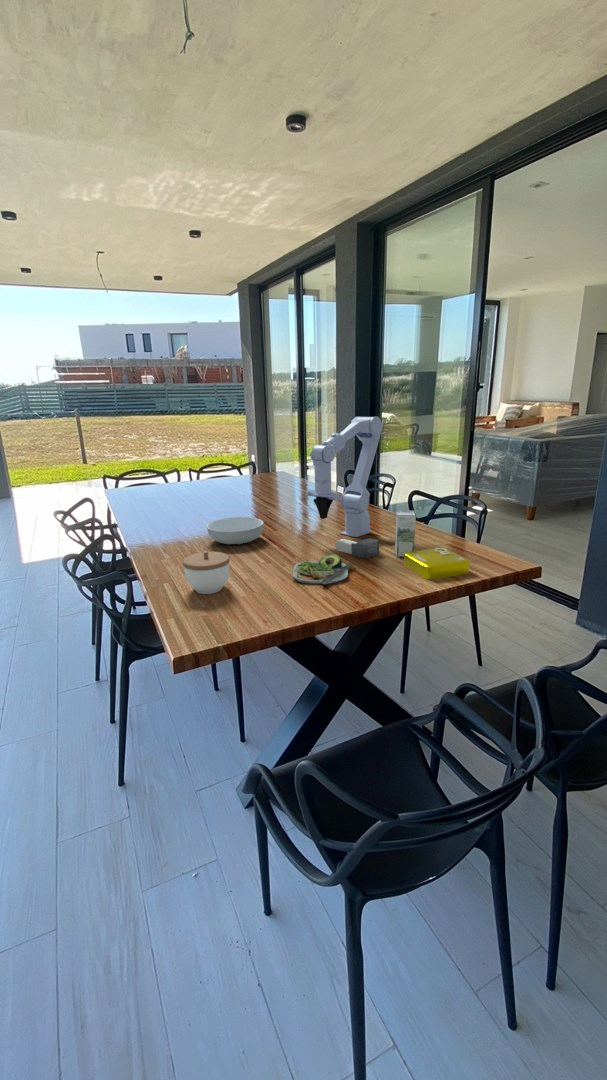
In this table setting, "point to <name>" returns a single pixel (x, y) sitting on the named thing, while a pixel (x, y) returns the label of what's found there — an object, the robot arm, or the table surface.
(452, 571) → the element tile
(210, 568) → the lidded sugar bowl
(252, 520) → the serving bowl
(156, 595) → the table surface
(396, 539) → the syrup box
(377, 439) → the robot arm
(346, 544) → the gray rectangular block
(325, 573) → the salad plate
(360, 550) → the dark gray block
